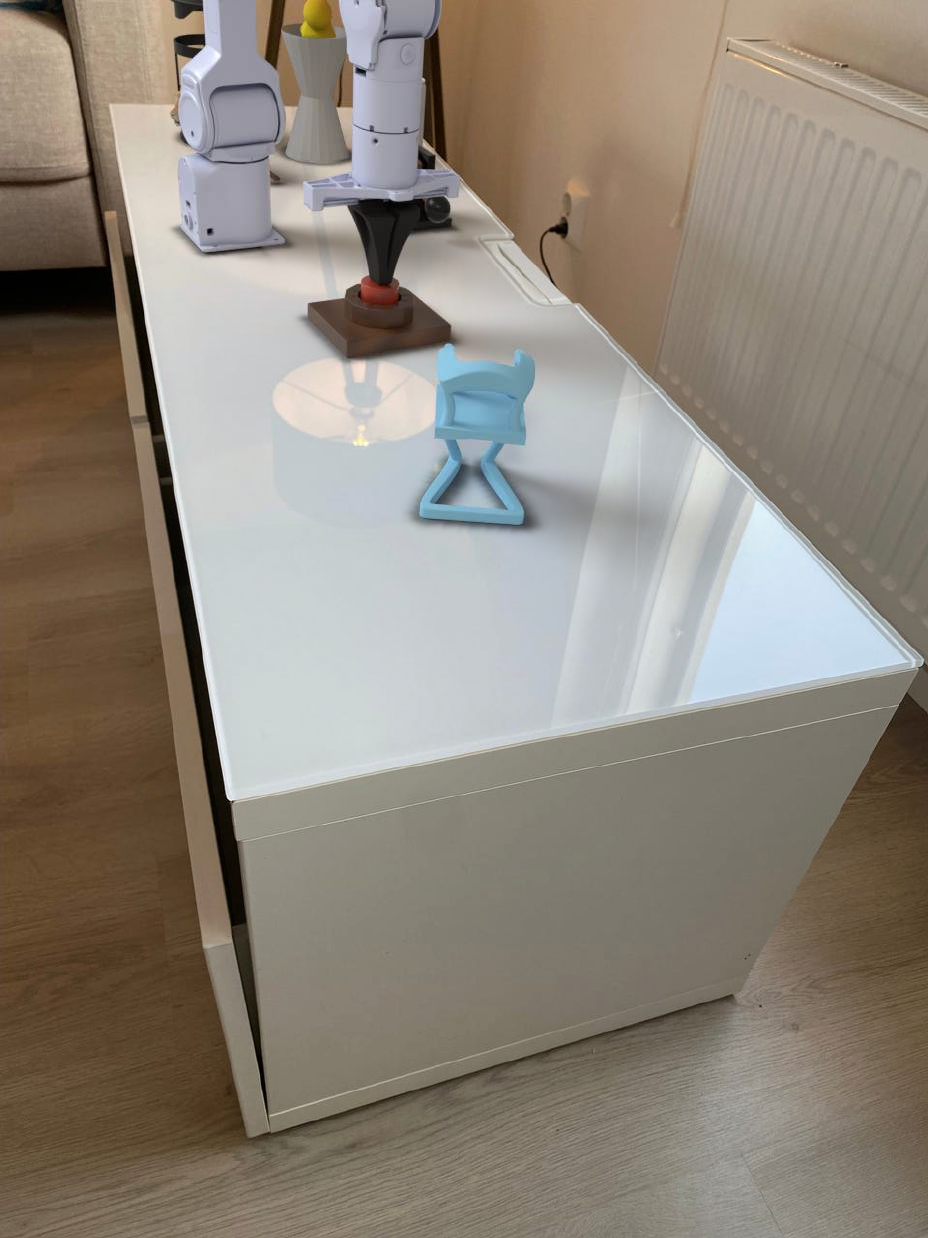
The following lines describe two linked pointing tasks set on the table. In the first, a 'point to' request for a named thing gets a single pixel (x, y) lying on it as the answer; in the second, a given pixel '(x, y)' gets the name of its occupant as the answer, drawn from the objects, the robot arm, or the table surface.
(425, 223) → the bracket
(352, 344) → the button block
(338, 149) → the grey hourglass vase
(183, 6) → the french press
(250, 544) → the table surface
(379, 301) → the button
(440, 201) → the lever
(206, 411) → the table surface
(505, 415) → the chair
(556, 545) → the table surface
